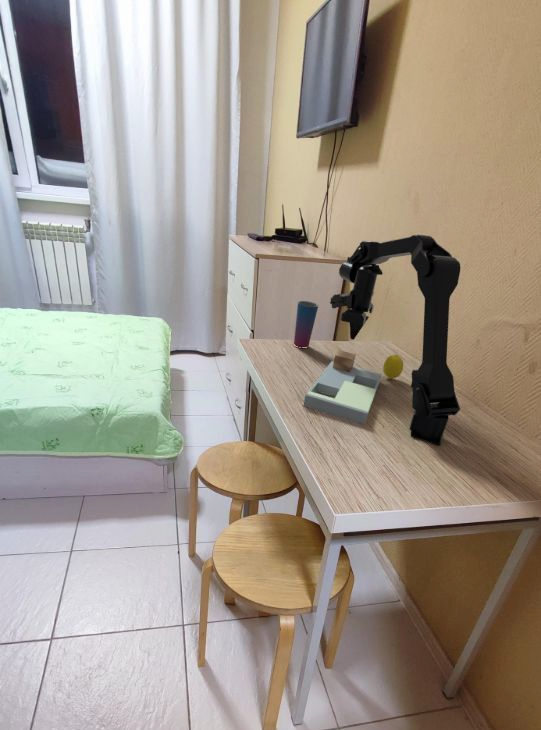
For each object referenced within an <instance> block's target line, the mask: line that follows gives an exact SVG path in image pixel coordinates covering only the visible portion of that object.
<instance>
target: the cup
mask: <svg viewBox="0 0 541 730" xmlns="http://www.w3.org/2000/svg"><path fill="white" fill-rule="evenodd" d="M296 307H297V308H296V317H295V318H296V319H295V329H294V340H293V345H294V344H295V345H296V346H298V347H307V346H308V347H309V346H310V341H311V339H312V334H313V329H314V325H315V323H316V321H315V320H316V317H317V313H318V308H319V304H318V303H316V302H313V301H308V300H299V301H297V306H296Z"/></svg>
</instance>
